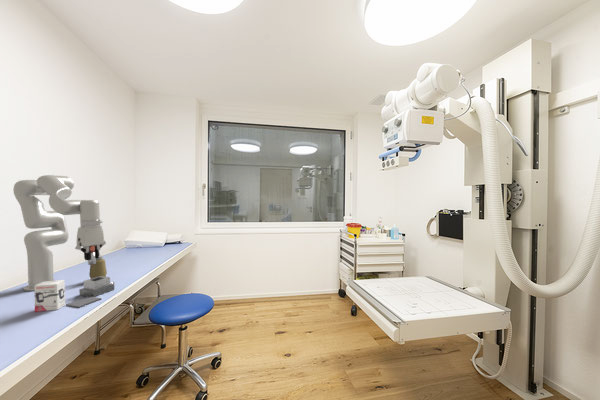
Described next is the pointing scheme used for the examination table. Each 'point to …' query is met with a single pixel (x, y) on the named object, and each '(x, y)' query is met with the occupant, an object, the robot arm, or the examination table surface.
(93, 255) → the peg
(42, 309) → the ink box
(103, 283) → the block
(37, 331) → the examination table surface
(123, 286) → the examination table surface
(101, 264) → the squeeze bottle
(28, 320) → the examination table surface
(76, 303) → the mat
